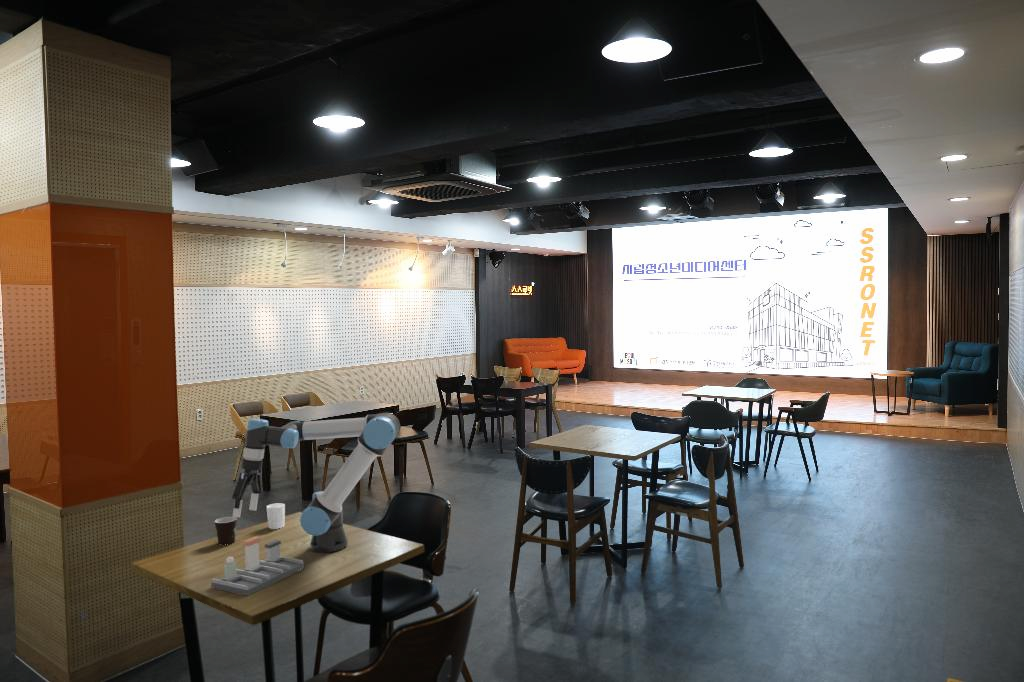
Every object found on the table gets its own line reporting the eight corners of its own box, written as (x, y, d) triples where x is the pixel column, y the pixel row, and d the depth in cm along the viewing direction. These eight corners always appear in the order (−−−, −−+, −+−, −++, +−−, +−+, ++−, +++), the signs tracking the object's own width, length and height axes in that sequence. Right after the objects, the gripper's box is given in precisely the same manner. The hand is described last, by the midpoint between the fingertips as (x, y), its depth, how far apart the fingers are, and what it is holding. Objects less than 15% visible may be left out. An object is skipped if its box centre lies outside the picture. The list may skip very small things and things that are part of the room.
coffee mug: (229, 546, 289) (228, 523, 288) (211, 546, 290) (210, 522, 290) (245, 537, 300) (244, 515, 300) (228, 537, 302) (227, 514, 301)
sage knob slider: (221, 581, 245) (220, 558, 244) (232, 576, 249) (231, 553, 249) (229, 583, 243) (228, 559, 243) (240, 578, 247) (239, 555, 247)
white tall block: (243, 572, 253) (241, 541, 253) (255, 566, 258) (253, 536, 258) (250, 573, 252) (249, 542, 251) (262, 568, 257) (261, 537, 256)
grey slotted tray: (211, 587, 246) (210, 578, 246) (269, 561, 270) (269, 553, 270) (247, 595, 238) (247, 586, 237) (304, 568, 262) (303, 560, 261)
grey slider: (264, 562, 262) (263, 544, 262) (275, 557, 267) (274, 539, 267) (271, 564, 260) (271, 545, 260) (282, 559, 265) (282, 540, 265)
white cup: (271, 524, 318) (270, 503, 318) (288, 524, 318) (287, 502, 317) (264, 530, 310) (263, 508, 310) (282, 529, 310) (281, 507, 309)
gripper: (258, 454, 282) (250, 506, 281) (228, 461, 257) (219, 518, 256) (275, 456, 282) (267, 508, 281) (247, 464, 257) (238, 521, 256)
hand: (244, 513), depth 269 cm, fingers open, 13 cm apart
